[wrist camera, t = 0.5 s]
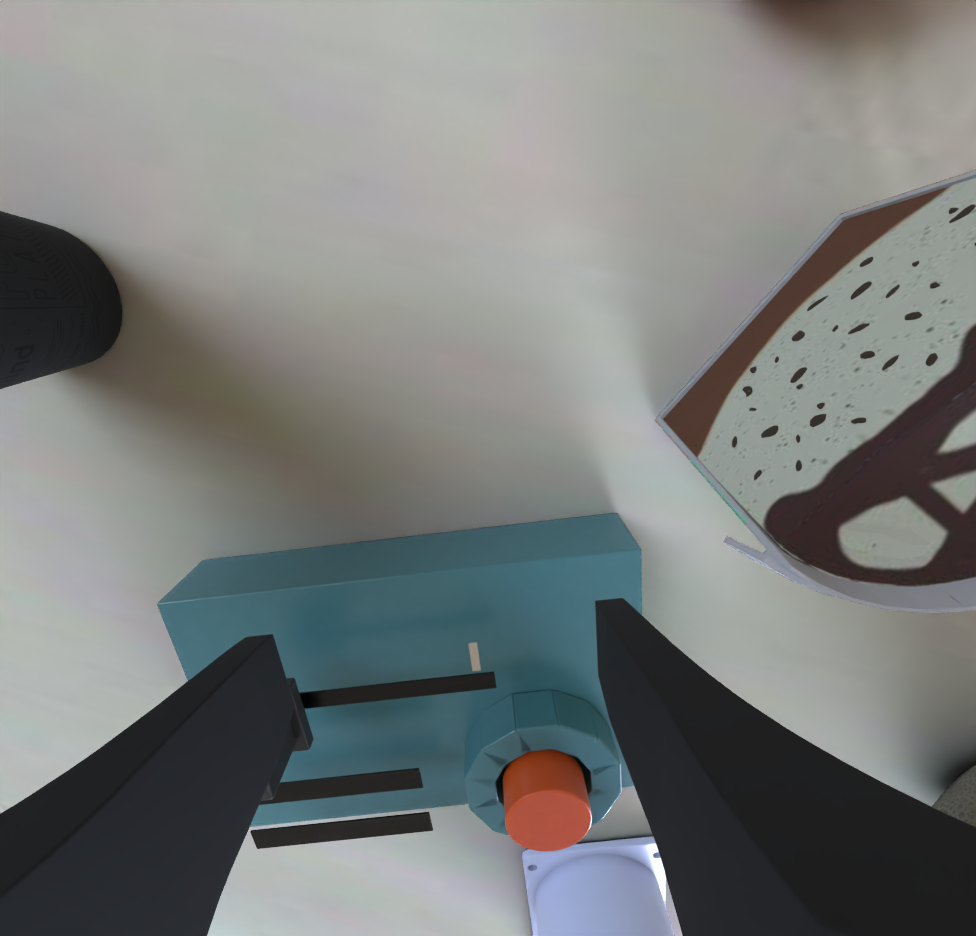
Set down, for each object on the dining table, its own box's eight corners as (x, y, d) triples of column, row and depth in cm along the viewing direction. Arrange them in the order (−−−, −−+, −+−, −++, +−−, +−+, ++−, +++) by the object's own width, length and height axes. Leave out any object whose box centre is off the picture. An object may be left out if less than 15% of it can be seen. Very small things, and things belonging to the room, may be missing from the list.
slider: (314, 738, 17) (287, 811, 15) (259, 744, 17) (223, 817, 15) (295, 676, 16) (262, 743, 14) (237, 683, 16) (194, 750, 14)
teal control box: (623, 727, 24) (658, 829, 20) (275, 764, 25) (227, 873, 20) (617, 511, 21) (659, 575, 16) (202, 559, 21) (121, 635, 16)
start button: (584, 802, 20) (594, 848, 18) (507, 810, 20) (509, 856, 18) (580, 743, 19) (590, 786, 17) (498, 752, 19) (500, 796, 17)
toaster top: (515, 820, 19) (515, 821, 19) (257, 847, 20) (257, 848, 20) (490, 639, 17) (490, 641, 16) (187, 673, 17) (186, 674, 17)
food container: (731, 530, 21) (940, 720, 12) (628, 448, 20) (769, 587, 10) (977, 292, 18) (1537, 285, 8) (875, 175, 17) (1404, 10, 7)
